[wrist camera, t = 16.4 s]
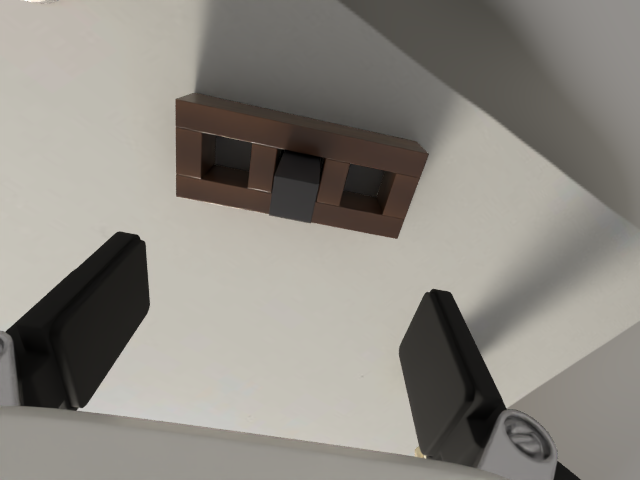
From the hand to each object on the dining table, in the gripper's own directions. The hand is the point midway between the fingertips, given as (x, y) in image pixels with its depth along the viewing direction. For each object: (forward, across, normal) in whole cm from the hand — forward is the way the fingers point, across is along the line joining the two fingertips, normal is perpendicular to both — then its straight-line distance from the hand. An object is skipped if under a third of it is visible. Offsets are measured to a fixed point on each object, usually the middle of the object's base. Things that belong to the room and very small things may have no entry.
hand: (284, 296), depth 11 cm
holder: (+21, +1, +2) cm, 21 cm away
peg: (+21, 0, +2) cm, 21 cm away
